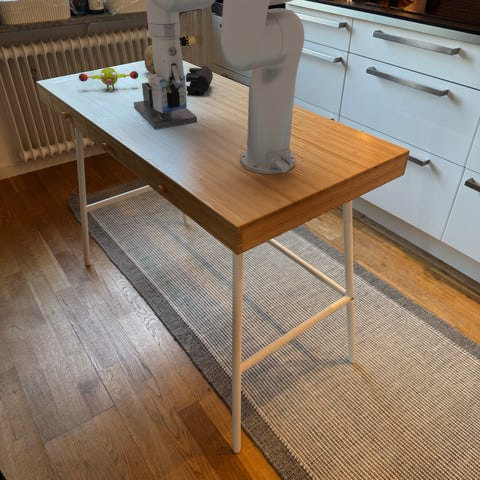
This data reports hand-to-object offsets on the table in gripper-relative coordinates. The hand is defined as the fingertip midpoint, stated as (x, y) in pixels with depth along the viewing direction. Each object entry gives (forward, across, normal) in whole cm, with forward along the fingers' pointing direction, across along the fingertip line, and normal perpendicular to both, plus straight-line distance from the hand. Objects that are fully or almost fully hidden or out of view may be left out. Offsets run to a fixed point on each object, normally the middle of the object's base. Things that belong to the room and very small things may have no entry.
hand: (170, 103), depth 119 cm
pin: (+1, +11, 0) cm, 11 cm away
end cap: (+5, +19, -17) cm, 26 cm away
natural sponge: (+5, +41, -11) cm, 43 cm away
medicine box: (+2, 0, 0) cm, 2 cm away
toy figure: (+5, +32, +8) cm, 33 cm away
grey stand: (+5, +5, 0) cm, 7 cm away
